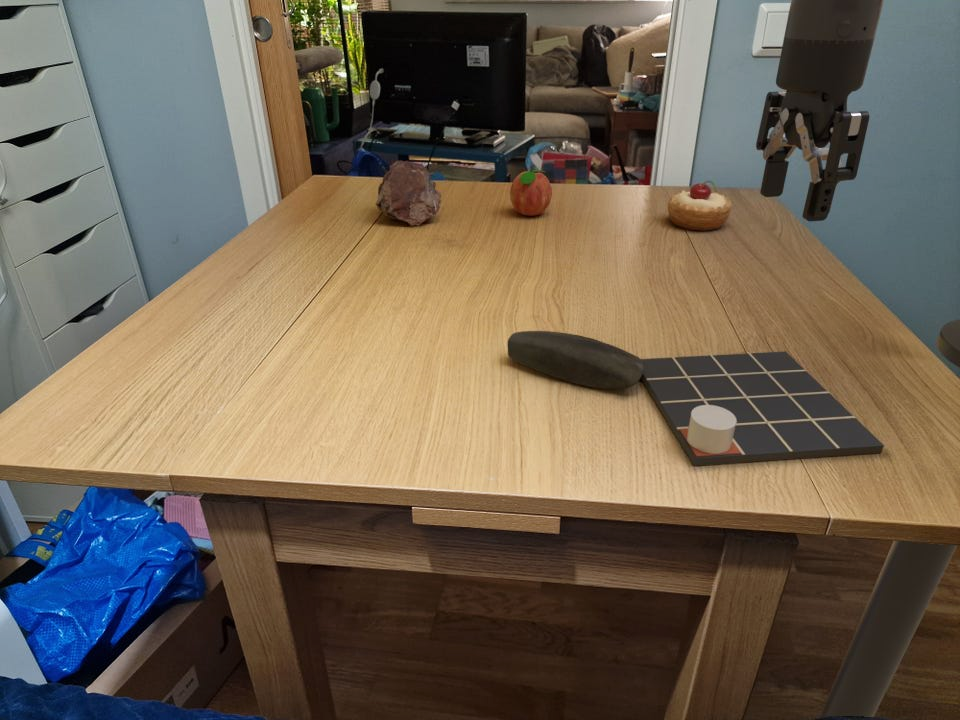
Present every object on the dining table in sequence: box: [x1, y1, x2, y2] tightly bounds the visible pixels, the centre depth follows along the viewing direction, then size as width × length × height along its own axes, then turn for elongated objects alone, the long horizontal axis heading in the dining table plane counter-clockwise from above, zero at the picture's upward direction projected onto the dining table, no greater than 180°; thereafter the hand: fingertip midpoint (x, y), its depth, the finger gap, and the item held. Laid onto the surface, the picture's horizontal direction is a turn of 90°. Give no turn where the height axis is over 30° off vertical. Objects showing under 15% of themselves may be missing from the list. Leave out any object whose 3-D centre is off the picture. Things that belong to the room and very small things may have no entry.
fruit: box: [509, 164, 553, 217], centre depth 136 cm, size 9×10×10 cm
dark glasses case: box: [507, 330, 645, 390], centre depth 81 cm, size 17×6×4 cm, turn 66°
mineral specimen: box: [374, 160, 442, 227], centre depth 134 cm, size 12×13×15 cm
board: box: [640, 350, 885, 467], centre depth 75 cm, size 20×20×1 cm
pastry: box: [667, 180, 733, 232], centre depth 131 cm, size 12×12×9 cm
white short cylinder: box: [687, 405, 737, 454], centre depth 67 cm, size 4×4×3 cm
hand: (790, 207), depth 69 cm, fingers open, 8 cm apart
